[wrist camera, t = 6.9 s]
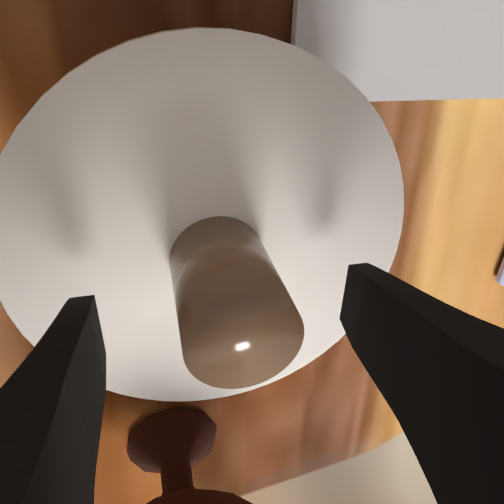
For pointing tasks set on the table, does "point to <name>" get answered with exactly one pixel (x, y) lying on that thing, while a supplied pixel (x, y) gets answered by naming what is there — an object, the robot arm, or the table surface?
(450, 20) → the mat
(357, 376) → the table surface
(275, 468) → the table surface
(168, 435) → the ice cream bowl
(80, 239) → the lid
